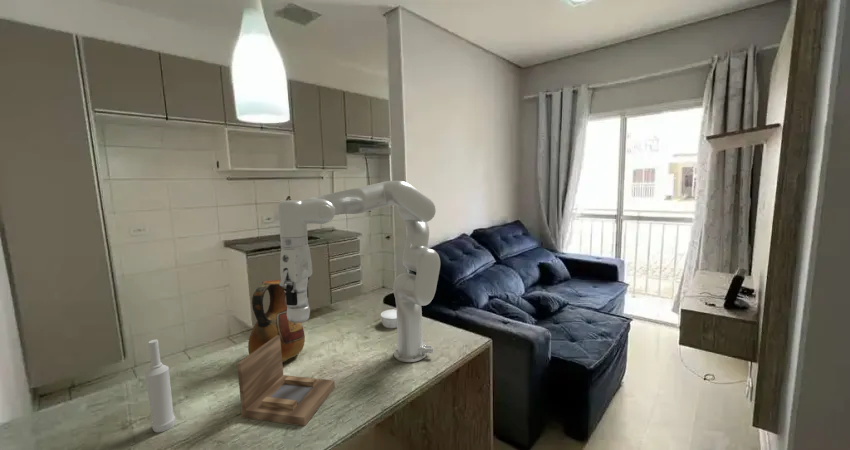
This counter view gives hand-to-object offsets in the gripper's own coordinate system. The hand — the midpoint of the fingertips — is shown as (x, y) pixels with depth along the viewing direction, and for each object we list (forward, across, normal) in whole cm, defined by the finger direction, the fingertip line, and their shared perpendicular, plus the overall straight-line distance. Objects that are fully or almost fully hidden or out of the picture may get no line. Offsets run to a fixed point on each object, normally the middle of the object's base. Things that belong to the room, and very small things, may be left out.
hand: (297, 300), depth 104 cm
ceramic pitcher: (+31, +21, +24) cm, 45 cm away
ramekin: (+31, +57, -12) cm, 66 cm away
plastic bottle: (+7, 0, 0) cm, 7 cm away
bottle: (+32, -19, +32) cm, 48 cm away
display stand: (+31, -3, +2) cm, 31 cm away
